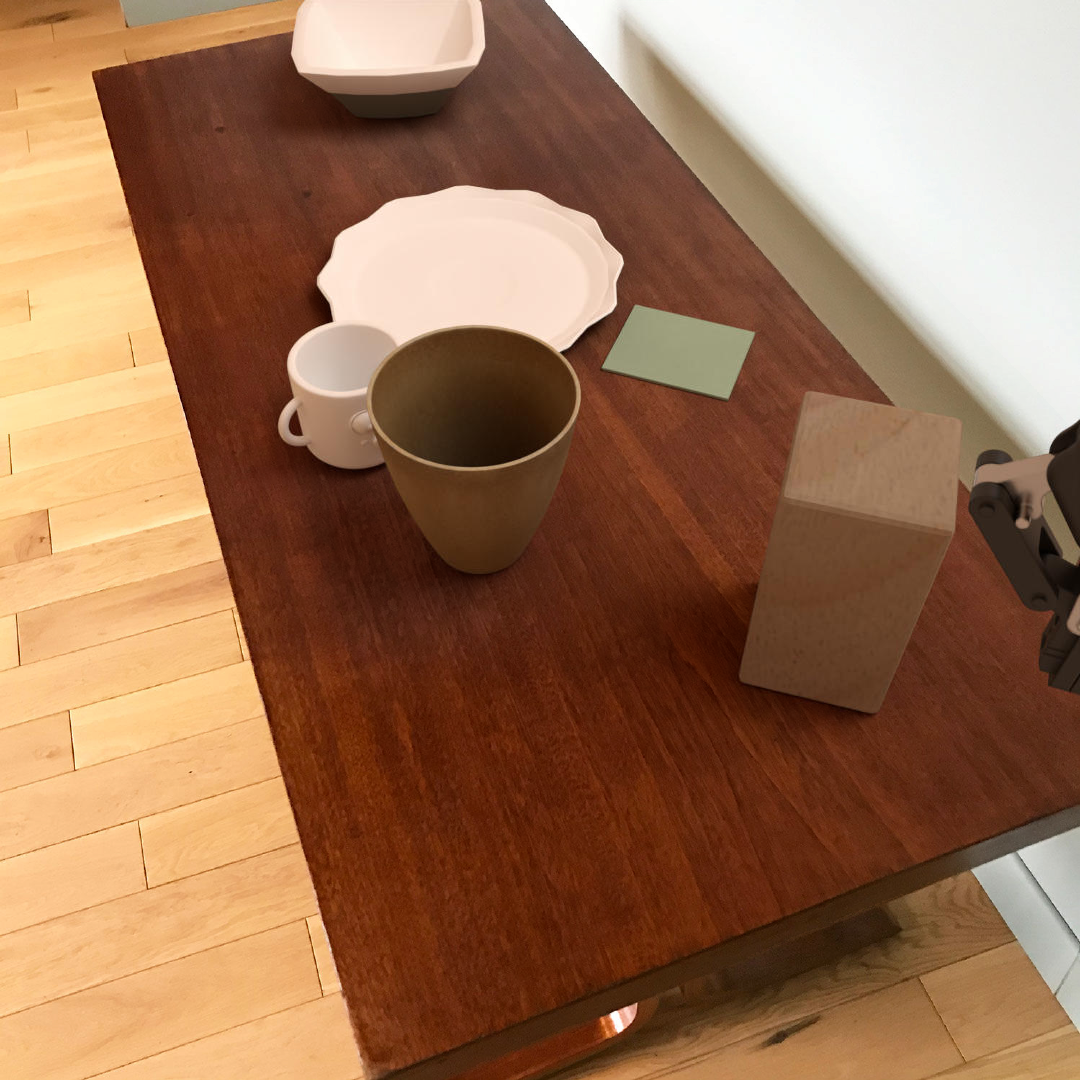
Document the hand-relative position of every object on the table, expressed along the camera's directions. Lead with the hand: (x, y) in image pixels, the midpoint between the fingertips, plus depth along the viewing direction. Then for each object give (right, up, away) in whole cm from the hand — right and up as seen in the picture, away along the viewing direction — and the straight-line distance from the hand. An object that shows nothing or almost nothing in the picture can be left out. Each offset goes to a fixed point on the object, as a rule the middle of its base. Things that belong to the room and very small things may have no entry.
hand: (1069, 674), depth 44 cm
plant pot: (-25, +5, +46) cm, 52 cm away
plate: (-28, +30, +67) cm, 79 cm away
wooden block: (0, -3, +39) cm, 39 cm away
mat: (-8, +23, +61) cm, 65 cm away
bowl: (-38, +59, +92) cm, 116 cm away
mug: (-37, +13, +53) cm, 66 cm away
